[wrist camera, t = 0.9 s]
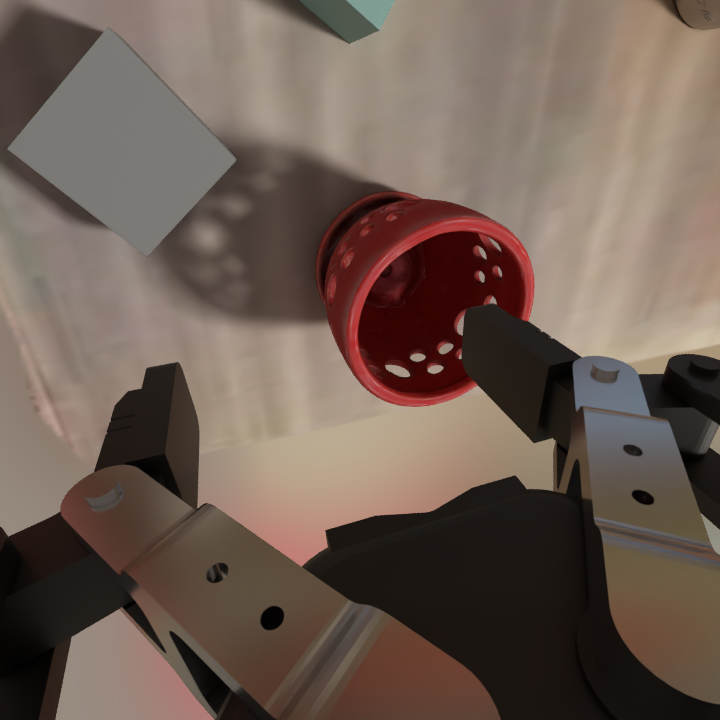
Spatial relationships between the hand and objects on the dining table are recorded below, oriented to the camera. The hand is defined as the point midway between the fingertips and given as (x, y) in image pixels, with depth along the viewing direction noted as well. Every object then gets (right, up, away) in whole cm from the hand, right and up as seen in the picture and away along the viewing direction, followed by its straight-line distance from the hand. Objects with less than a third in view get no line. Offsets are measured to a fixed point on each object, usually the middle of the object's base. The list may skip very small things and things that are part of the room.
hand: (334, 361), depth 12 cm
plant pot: (+2, +8, +25) cm, 26 cm away
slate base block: (-13, +14, +16) cm, 25 cm away
